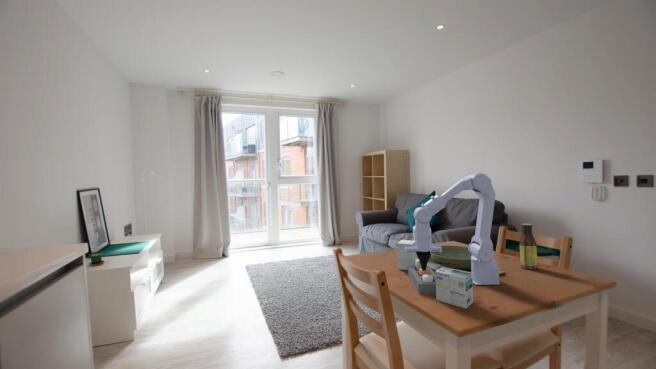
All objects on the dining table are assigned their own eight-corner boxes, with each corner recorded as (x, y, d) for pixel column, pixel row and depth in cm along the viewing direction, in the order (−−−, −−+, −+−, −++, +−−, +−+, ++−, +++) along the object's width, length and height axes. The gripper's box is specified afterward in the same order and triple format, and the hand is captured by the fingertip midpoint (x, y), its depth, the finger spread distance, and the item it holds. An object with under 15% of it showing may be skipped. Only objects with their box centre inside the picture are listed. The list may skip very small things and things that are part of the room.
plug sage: (423, 269, 128) (423, 258, 128) (426, 272, 124) (425, 261, 124) (414, 269, 128) (414, 258, 128) (416, 272, 124) (416, 261, 124)
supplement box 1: (417, 266, 140) (417, 240, 139) (413, 271, 134) (412, 244, 133) (402, 264, 144) (401, 239, 143) (397, 269, 138) (396, 242, 137)
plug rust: (427, 278, 122) (427, 267, 122) (430, 282, 118) (429, 270, 118) (418, 278, 122) (417, 267, 122) (420, 282, 118) (420, 271, 118)
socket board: (428, 273, 130) (428, 265, 130) (443, 293, 109) (443, 283, 109) (407, 273, 131) (407, 265, 131) (418, 293, 110) (418, 284, 110)
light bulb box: (474, 302, 101) (473, 272, 101) (466, 309, 96) (465, 277, 96) (443, 294, 109) (442, 265, 108) (435, 300, 104) (434, 270, 104)
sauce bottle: (539, 268, 131) (539, 224, 130) (533, 271, 127) (533, 226, 126) (523, 264, 136) (523, 222, 135) (517, 267, 133) (516, 224, 132)
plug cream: (431, 285, 116) (431, 274, 116) (434, 289, 112) (433, 277, 112) (421, 285, 116) (421, 274, 116) (424, 289, 112) (423, 278, 112)
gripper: (406, 239, 116) (407, 273, 117) (444, 238, 115) (444, 272, 115) (403, 235, 123) (404, 267, 124) (438, 234, 122) (439, 266, 122)
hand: (423, 269), depth 120 cm, fingers closed, pressing on plug rust
